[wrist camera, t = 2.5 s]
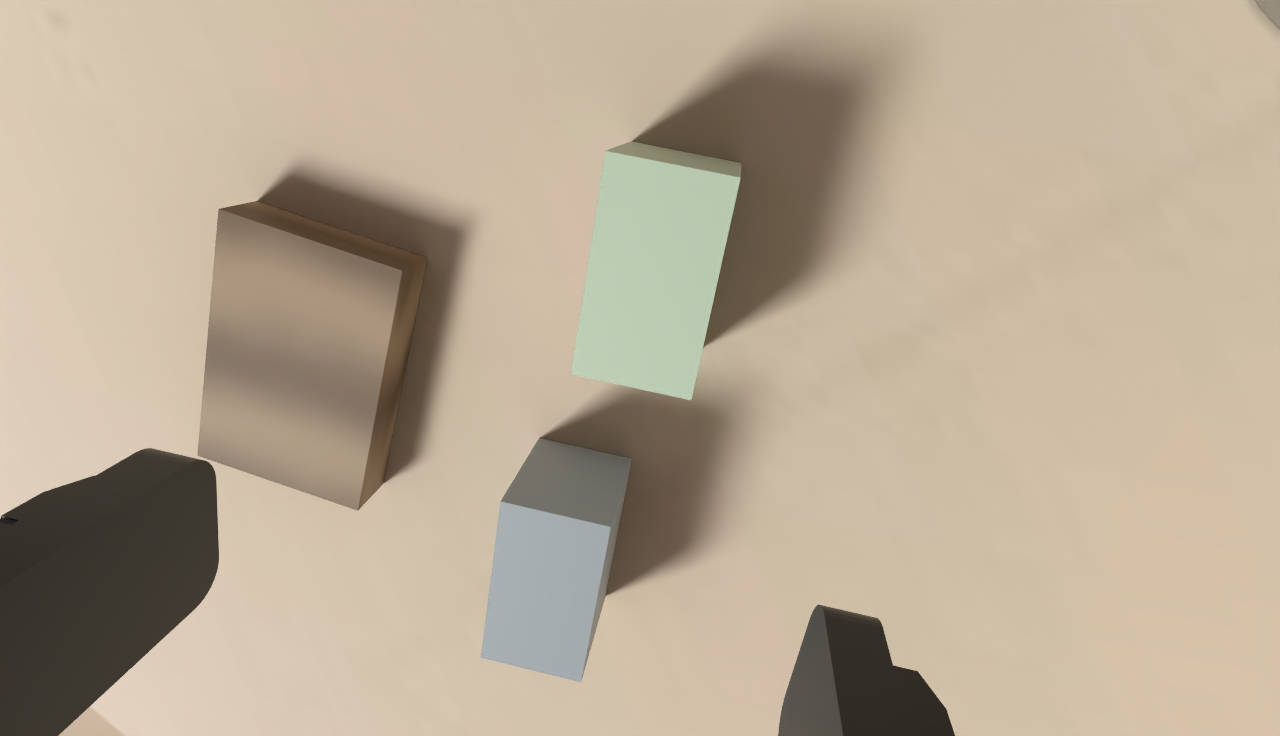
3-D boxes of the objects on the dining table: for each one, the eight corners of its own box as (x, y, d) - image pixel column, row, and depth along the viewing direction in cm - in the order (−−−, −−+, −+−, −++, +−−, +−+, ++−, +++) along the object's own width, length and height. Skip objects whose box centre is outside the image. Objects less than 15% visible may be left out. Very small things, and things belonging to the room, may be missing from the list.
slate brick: (539, 437, 35) (500, 501, 29) (632, 457, 35) (611, 526, 29) (520, 574, 38) (480, 657, 32) (605, 595, 38) (581, 682, 32)
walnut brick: (263, 199, 33) (218, 209, 30) (431, 256, 33) (402, 270, 30) (238, 428, 37) (197, 455, 35) (386, 479, 37) (357, 510, 34)
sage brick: (631, 141, 30) (605, 150, 24) (741, 162, 29) (740, 177, 24) (600, 327, 33) (570, 374, 27) (700, 348, 32) (691, 400, 27)
